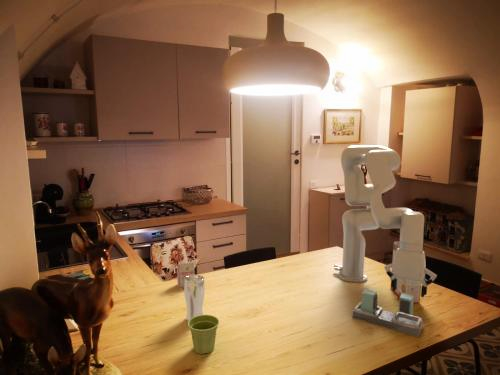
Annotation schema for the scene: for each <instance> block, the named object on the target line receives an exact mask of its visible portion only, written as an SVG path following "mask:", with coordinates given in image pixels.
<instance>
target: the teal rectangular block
mask: <svg viewBox="0 0 500 375" xmlns="http://www.w3.org/2000/svg"><path fill="white" fill-rule="evenodd" d="M378 297H379V296H378V291H377V290H376V291H375V290H373V289H372V290H371V289H368V288H365V289H364V290H363V291H362V292H361V301H360V302H361V310H364V311H368V312H371V313H374V312H375V310H376V307H377V306H378V299H379V298H378Z"/></svg>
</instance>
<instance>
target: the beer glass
mask: <svg viewBox="0 0 500 375" xmlns="http://www.w3.org/2000/svg"><path fill="white" fill-rule="evenodd" d="M183 289H184V299H185V304H186V309H187V310H186V316H185V319H186V321H187V322H188V321H189V320H190V319H191V318H193V317H195V316H199V315H204V312H203V304H204V298H205V278H204V276H203V275H201V274H195V275H189V276H187V277H185V285H184V287H183Z"/></svg>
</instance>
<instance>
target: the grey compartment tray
mask: <svg viewBox="0 0 500 375" xmlns="http://www.w3.org/2000/svg"><path fill="white" fill-rule="evenodd" d="M361 302H362V301H359V302H358V304H357V305H356V306H355V307H354V308H353V310H352V316H351V317H352V318H353V319H356V320H359V321H363V322H367V323H369V324H374V325H376V326H380V327H383V328H385V329H386V328H387V329H390V330H393V331H397V332H399V333H404V334H406V335H410V336H413V337H416V338H417V337H418V338H419V337H420V335H421V333H422V330H423V328H424V320H423V318H422V317H419V316H417V315H413V314H412V315H410V314H406V313H402V312H399V311H396V312H391V311H388V310H383V307H382V306H379V305H377V307H376V310H375V312H374V313H371V312H368V311H364V310H361Z"/></svg>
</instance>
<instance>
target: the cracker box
mask: <svg viewBox="0 0 500 375" xmlns="http://www.w3.org/2000/svg"><path fill="white" fill-rule="evenodd" d="M395 242H396V241H394V242H393V248H392V262H391V264H392V263H394V261H395V255H396V250H397V249H398V248H399V246H398V245H395ZM393 269H394V267H393V268H391V272H392V273H393ZM396 278H397V288H396V290H395V291H393V293H395V294H396V295H397V296H398V297H400V296H401V294H402V293H403V294H407V295H411V296H414V300H413V304H414V303H421V288H422V285H423V284H422V283H421V282H420V281H415V280H410V279H405V278H400V277H396ZM389 288H390V290H392V289H393V288H392V287H391V286H390V287H389Z"/></svg>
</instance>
